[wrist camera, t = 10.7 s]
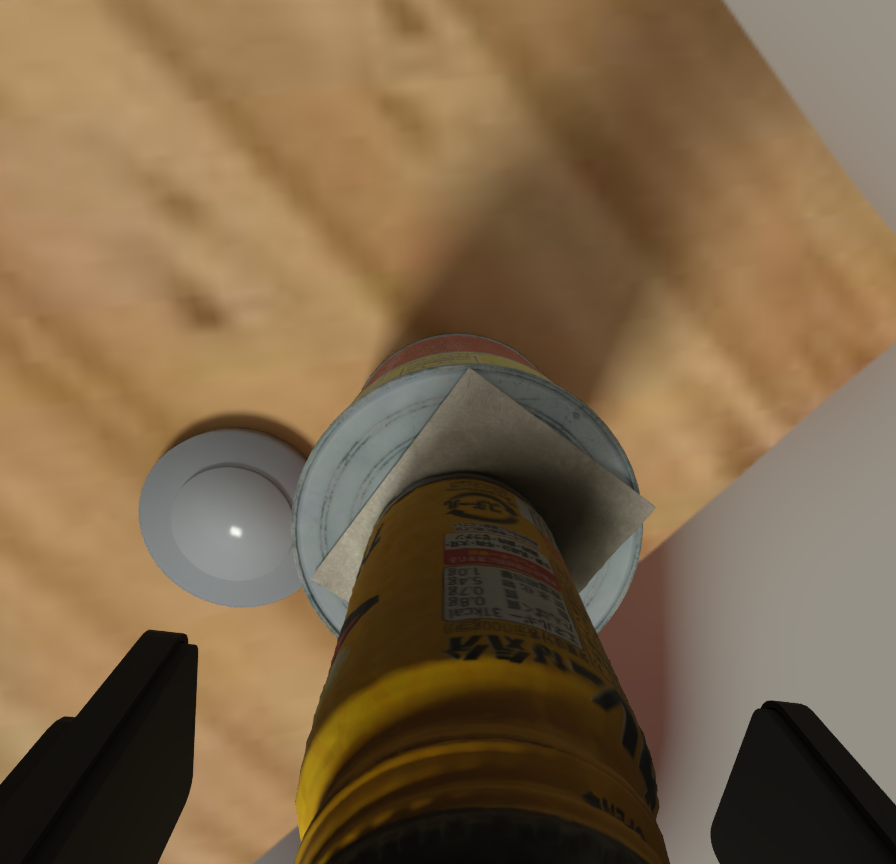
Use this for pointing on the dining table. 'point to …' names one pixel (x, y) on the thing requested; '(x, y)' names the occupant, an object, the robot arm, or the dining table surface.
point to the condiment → (478, 660)
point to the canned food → (400, 422)
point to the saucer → (224, 516)
